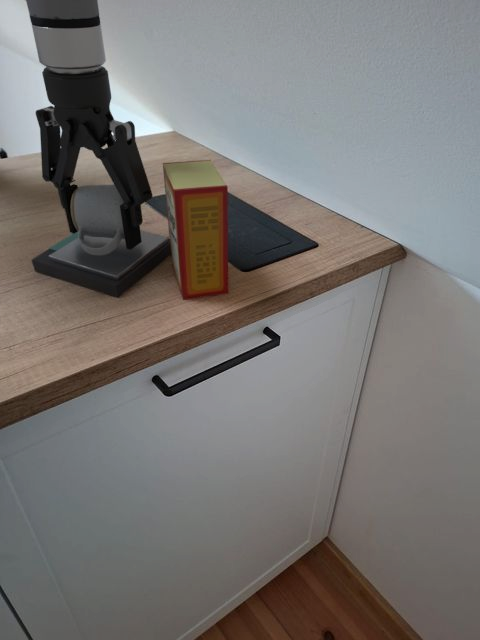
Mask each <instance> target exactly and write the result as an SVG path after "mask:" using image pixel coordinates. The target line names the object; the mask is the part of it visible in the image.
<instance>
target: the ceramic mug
mask: <svg viewBox="0 0 480 640" xmlns="http://www.w3.org/2000/svg"><path fill="white" fill-rule="evenodd" d="M130 195H131V193H130ZM123 203H124V201H123V200H122V198H121V196H120V194H119V192H118V191H117V189H116V187H115V185H114V184H89V185H83V186H78V188H77V189H76V190H75V191H74V193H73V195H72V198H71V216H72V221H73V224H74V226H75V228H76V229H77V231H78V240H79V243H80V245H81V247H82V248H83V250H84V251H86V252H87V253H89V254H91V255H98V256H101V255H106V254H109V253H111V252H112V251H114V250H115V249H116V248H117V247H118V245H119V243H120V242H121V240H122V239H125V236H124V230H123V223H122V217H121V210H120V205H122V204H123ZM84 236H90V237H105V238H113V240H112V241H111V242H110V243H108V244H107V245H105V246H103V247H100V248H92V247H90V246H87V245H86V244H84Z"/></svg>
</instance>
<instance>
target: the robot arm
mask: <svg viewBox="0 0 480 640" xmlns="http://www.w3.org/2000/svg"><path fill="white" fill-rule="evenodd" d="M25 2H26V6H27V10H28V14H29V21H30V23H31V28H32V33H33V38H34V42H35V47H36V48H35V49H36V51H37V56H38V62H39V64H41V65H42V66H44V68H43V71H42V73H41V74H42V79H43V83H44V87H45V92H46V97H47V100H48V102H49V103H50V104H51V105H49V106H46V107H43V108H40V109H36V110H35V117H36V120H37V124H38V127H39V133H40V134H39V136H40V157H41V177H42V179H43V180H44V182H46V183H49V182H50V183H52V184H53V186H54V187H55V188H56V189H57V193H58V197H59V201H60V206H61V207H62V209H64V212H65V213H64V214H65V217H66V220H67V225H68V230H69V233H71V234H73V233H76V232H78V231H77V229H76V228H75V226H74V224H73V221H72V216H71V198H72V195H73V193H74V191H75V190H76V189H77V188H79V185H78V184H75V183H74V182H76V179H75V178H74V176H75V171H76V169H77V168H76V167H77V165H78V159H79V157H80V156H79V155H80V152H81V148H84V149H86V150H88V151H92V153H93V155H94V156H95V157H96V159H98V160H100V161H101V163H102V165H103V168H105V170H106V172H107V174H108V176H109V178H110V180H111V181H112V183H113V185H115V187H116V189H117V191H118V192H119V194H120V196H121V198H122V200H123V201H124V203H123V204H122V205H120V210H121V217H122V223H123V230H124V236H125V243H126V249H130V250H131V249H133V248H134V247H135V246H137V245H138V244H140V243H141V242H142V240H141V232H140V230H141V227H140V226H141V225H142V224H143V222H144V220H143V213H142V212H143V211H142V205H143V204H144V203H146V202H148V201H149V200H151V199H152V198H153V197H154V196H153V192H152V187H151V186H150V182H149V178H148V175H147V173H146V169H145V166H144V164H143V160H142V157H141V154H140V151H139V147H138V145H137V141H136V126H135V124H134V122H133V121H131V120H128V121H125V122H122V121H119V120H117V119H115V118H114V116H113V114H112V112H111V108H110V107H111V102H112V101H111V100H112V92H111V85H110V77H109V71H108V70H107V68H106V67H105V66H103V65H104V64H105V63H106V61H107V59H106V51H105V45H104V37H103V32H102V30H103V29H102V25H101V24H102V23H101V17H100V9H99V1H98V0H25ZM105 146H107V147H105ZM103 147H105V148H103ZM130 193H131V195H130Z"/></svg>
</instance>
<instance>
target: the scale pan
mask: <svg viewBox="0 0 480 640" xmlns="http://www.w3.org/2000/svg"><path fill="white" fill-rule="evenodd" d="M140 232H141V240H142V242H141V243H140V244H138V245H137V246H135V247H134V248H133V249H131V250H130V249H126V243H125V239H122V240H121V242H120V243H119V245H118V247H117V248H116V249H115V250H114V251H112V252H111V253H109V254H106V255H101V256H98V255H91V254H89V253H87V252H86V251H84V250H83V248H82V247H81V245H80V243H79V240H78V238H77V239H75V240H74V241H72V242H70V243H69V244H67V245H65V246H64V247H62V248H61V249H59V250H57V251H56V252H54V253H52V254H51V255H49V259H50V261H53V262H57V263H60V264H63V265H66V266H70V267H73V268H76V269H80V270H83V271H86V272H89V273H93V274H96V275H99V276H103V277H106V278H109V279H112V280H116V281H118V280H119V279H121V278H122V277H123V276H124V275H126V274H127V273H128V272H130V271H131V270H132V269H134V268H135V267H136V266H137V265H139V264H140V263H141V262H143V261H144V260H145V259H147V258H148V257H149V256H150V255H152V254H153V253H154V252H156V251H157V250H158V249H160V248H161V247H162V246H163V245H165V244H166V243H167V242H168V238H169V237H167V236H165V235H161V234H156V233H153V232H149V231H145V230H141V229H140ZM112 240H113V238H105V237H90V236H84V244H86V245H87V246H90V247H92V248H100V247H103V246H105V245H107V244H108V243H110V242H111V241H112Z"/></svg>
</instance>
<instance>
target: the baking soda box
mask: <svg viewBox="0 0 480 640" xmlns="http://www.w3.org/2000/svg"><path fill="white" fill-rule="evenodd" d="M162 170H163V180H164V181H163V182H164V193H165V194H164V195H165V203H166V214H167V224H168V236H169V237H168V238H169V239H170V247H171V255H170V256H171V257H170V258H171V266H172V269H173V272H174V275H175V276H174V277H175V279H176V281H177V285H178V288H179V292H180V294H181V297H182V300H190V299H197V298H198V299H199V298H204V297H210V296H211V297H212V296H220V295H226V294H229V205H228V204H229V203H228V202H229V200H228V199H229V198H228V197H229V195H228V193H229V191H228V185H227V183H226V182H225V180H224V178H223V177H222V175H221V174H220V172H219V171H218V169H217V167H216V166H215V165H214V163H213V161H212V160H211V159H201V160H189V161H188V160H187V161H173V162H162Z"/></svg>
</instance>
